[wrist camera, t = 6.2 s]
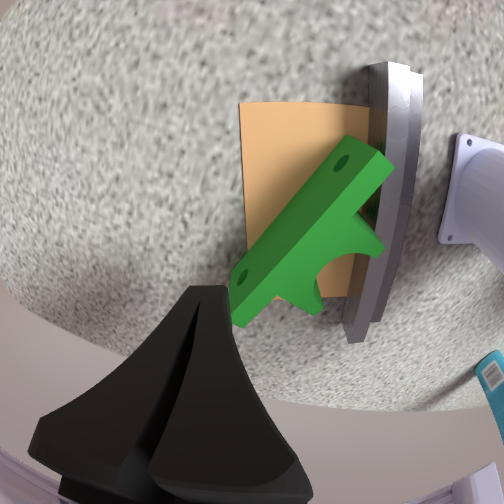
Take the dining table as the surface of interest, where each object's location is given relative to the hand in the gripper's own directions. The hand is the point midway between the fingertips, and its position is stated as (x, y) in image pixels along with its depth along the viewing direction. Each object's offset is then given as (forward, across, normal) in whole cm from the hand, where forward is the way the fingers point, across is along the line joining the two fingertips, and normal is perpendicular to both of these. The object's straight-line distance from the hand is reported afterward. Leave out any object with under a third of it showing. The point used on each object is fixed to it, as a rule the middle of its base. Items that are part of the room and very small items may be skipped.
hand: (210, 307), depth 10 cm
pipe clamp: (+8, -4, +1) cm, 9 cm away
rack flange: (+8, -6, 0) cm, 10 cm away
